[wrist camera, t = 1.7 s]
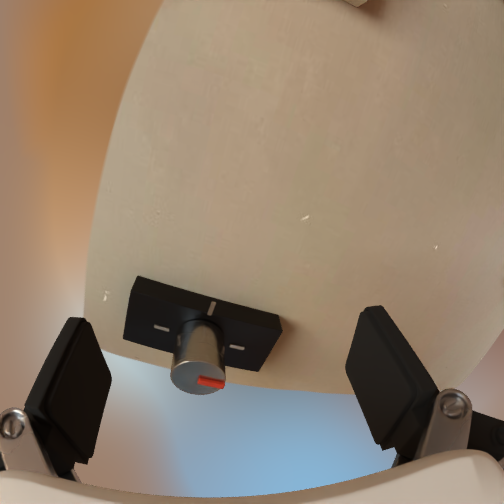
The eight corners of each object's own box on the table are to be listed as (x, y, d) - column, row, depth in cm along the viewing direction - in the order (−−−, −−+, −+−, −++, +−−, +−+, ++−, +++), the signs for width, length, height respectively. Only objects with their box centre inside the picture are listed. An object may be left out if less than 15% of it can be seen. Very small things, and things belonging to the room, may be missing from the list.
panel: (126, 331, 29) (121, 349, 26) (140, 263, 25) (132, 278, 23) (251, 363, 32) (253, 381, 30) (284, 304, 29) (289, 321, 26)
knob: (171, 347, 27) (165, 391, 22) (182, 313, 25) (176, 357, 20) (215, 358, 28) (216, 401, 23) (230, 326, 26) (233, 370, 21)
